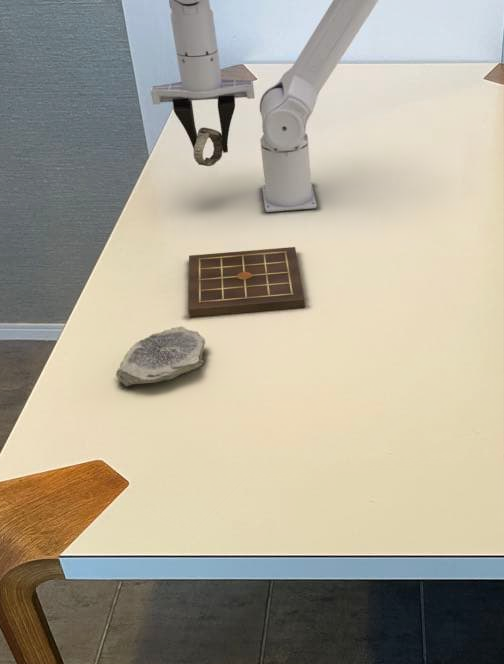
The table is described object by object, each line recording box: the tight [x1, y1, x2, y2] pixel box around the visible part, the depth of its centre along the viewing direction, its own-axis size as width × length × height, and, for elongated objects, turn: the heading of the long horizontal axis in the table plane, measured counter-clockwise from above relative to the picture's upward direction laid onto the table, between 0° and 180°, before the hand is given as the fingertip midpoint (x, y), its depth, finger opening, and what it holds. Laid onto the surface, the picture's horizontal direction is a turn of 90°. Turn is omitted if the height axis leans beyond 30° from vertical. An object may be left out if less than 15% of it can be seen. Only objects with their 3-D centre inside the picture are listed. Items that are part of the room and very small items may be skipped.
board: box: [187, 246, 306, 318], centre depth 116 cm, size 15×15×1 cm
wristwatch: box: [193, 127, 223, 167], centre depth 127 cm, size 4×6×5 cm, turn 158°
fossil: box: [115, 326, 206, 387], centre depth 101 cm, size 11×4×10 cm
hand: (211, 151), depth 129 cm, fingers closed on wristwatch, 3 cm apart
